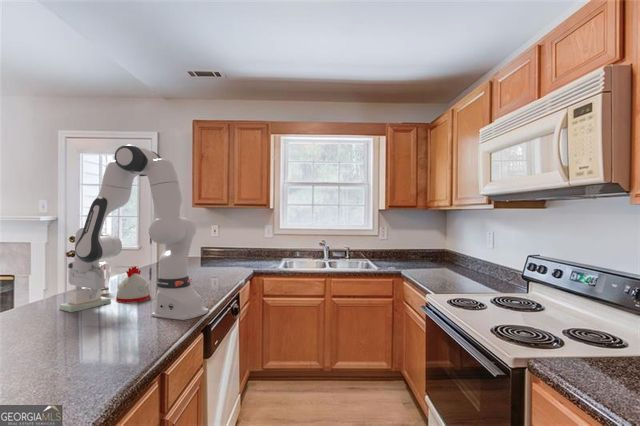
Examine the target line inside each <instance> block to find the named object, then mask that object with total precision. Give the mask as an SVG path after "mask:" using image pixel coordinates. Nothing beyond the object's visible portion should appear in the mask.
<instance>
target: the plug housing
mask: <svg viewBox="0 0 640 426" xmlns="http://www.w3.org/2000/svg"><path fill="white" fill-rule="evenodd" d="M108 289H109V287H108V288H103V289H98V291H97V293H96V298H95V299H90V298H89V297H90V296H89V295H90V294H91V292H92V291H91V289H90V288H85V287H84V288H82V289H80V290H76V289H75V290H71V291H70V301H69V303H72V304H80V303H85V302H90V301H94V300H99V299H101V297H102V295H101V291H104V290H108Z"/></svg>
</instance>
